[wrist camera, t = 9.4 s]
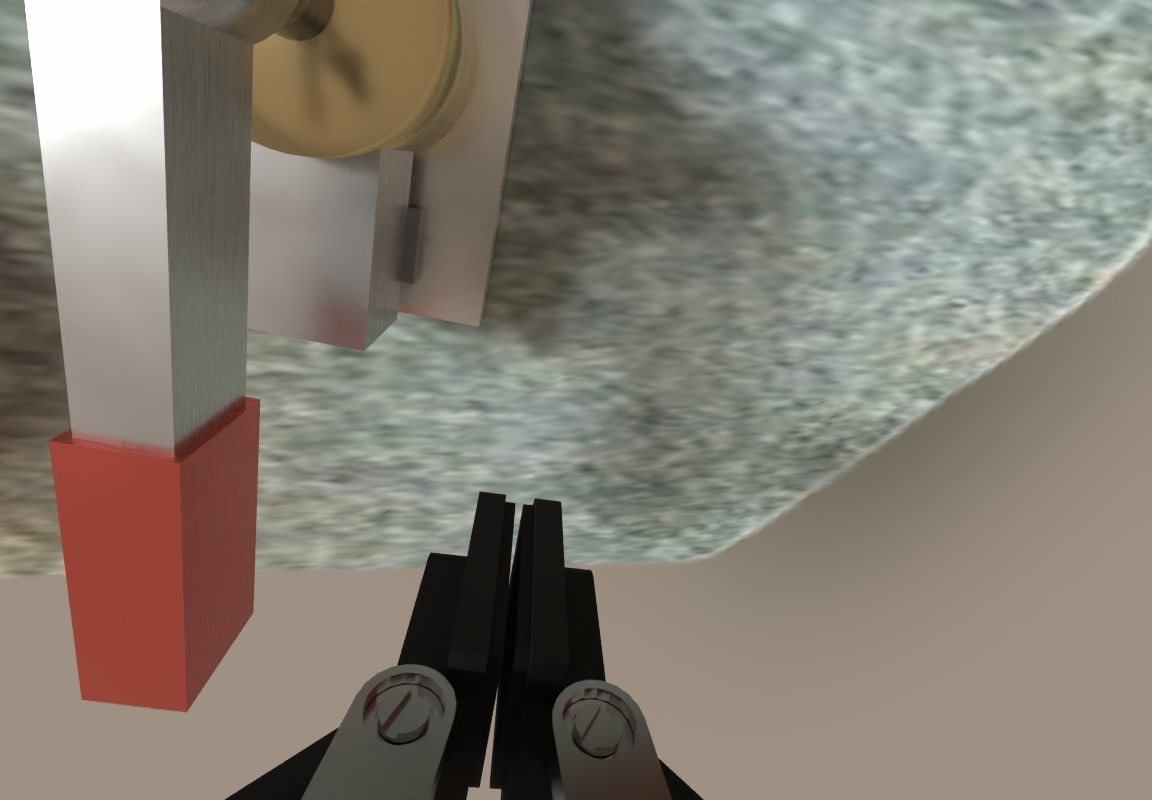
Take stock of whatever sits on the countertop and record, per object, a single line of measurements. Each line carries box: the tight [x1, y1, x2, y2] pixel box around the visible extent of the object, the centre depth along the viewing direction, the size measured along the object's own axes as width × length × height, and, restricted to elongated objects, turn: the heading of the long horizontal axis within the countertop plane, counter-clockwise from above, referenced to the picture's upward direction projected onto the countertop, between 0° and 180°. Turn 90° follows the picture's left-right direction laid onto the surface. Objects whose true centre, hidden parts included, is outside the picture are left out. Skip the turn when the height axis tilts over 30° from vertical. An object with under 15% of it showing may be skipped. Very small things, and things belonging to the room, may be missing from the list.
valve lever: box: [25, 0, 299, 712], centre depth 10 cm, size 16×3×3 cm, turn 166°
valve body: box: [247, 0, 534, 351], centre depth 14 cm, size 16×9×10 cm, turn 168°
